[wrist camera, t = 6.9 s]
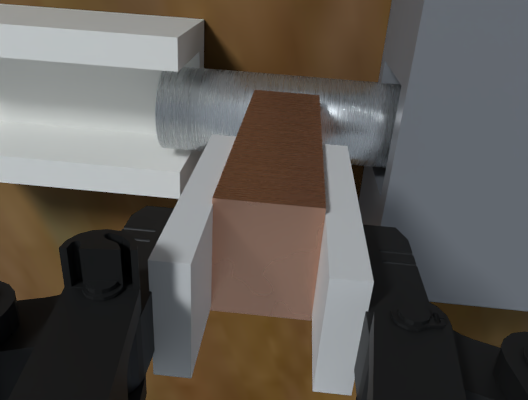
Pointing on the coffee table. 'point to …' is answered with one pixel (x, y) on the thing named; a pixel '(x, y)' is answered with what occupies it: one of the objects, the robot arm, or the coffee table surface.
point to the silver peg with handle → (272, 172)
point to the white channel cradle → (91, 99)
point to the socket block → (458, 148)
